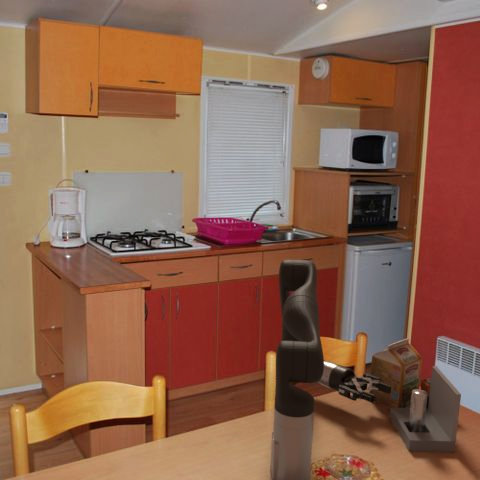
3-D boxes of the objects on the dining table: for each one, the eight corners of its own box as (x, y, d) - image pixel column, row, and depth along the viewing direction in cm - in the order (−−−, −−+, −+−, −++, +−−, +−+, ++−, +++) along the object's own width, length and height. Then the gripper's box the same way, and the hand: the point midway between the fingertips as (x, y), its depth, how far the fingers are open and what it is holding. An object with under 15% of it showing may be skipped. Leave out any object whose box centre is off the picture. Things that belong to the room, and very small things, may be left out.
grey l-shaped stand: (408, 450, 154) (414, 393, 151) (389, 417, 172) (394, 365, 169) (454, 451, 154) (461, 394, 151) (431, 418, 172) (436, 366, 169)
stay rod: (410, 440, 159) (414, 395, 156) (405, 433, 163) (410, 389, 160) (424, 441, 159) (429, 396, 157) (420, 433, 163) (424, 389, 161)
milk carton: (397, 411, 175) (403, 350, 172) (368, 398, 183) (373, 340, 179) (417, 402, 182) (423, 343, 178) (388, 389, 190) (393, 333, 186)
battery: (446, 413, 175) (449, 381, 174) (424, 414, 174) (428, 382, 172) (438, 406, 180) (442, 375, 178) (417, 407, 178) (421, 376, 177)
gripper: (321, 371, 172) (370, 389, 161) (349, 358, 182) (396, 375, 171) (320, 395, 173) (368, 415, 162) (347, 381, 183) (394, 399, 172)
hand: (382, 394), depth 167 cm, fingers open, 8 cm apart
